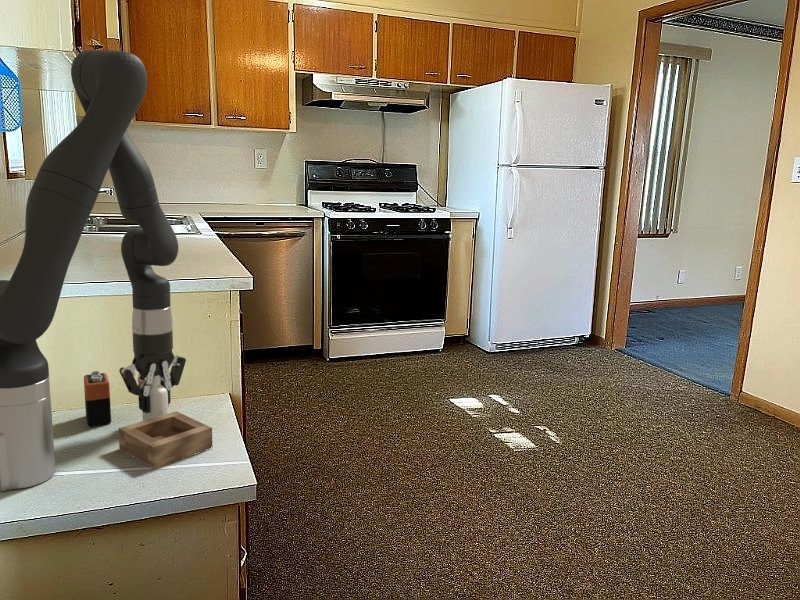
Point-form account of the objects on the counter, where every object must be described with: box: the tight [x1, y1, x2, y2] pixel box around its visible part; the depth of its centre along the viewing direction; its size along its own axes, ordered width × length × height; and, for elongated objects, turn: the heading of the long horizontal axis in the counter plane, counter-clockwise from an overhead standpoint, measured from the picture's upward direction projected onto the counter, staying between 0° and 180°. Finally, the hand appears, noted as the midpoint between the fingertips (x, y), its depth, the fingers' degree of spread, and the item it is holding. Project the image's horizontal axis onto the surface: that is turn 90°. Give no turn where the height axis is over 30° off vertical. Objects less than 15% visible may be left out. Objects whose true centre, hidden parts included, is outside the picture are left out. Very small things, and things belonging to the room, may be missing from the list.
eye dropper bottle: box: [141, 375, 169, 421], centre depth 127 cm, size 4×6×12 cm
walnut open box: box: [118, 411, 213, 470], centre depth 117 cm, size 12×12×4 cm
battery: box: [83, 370, 112, 427], centre depth 128 cm, size 4×7×10 cm, turn 30°
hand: (155, 408), depth 127 cm, fingers closed on eye dropper bottle, 3 cm apart
